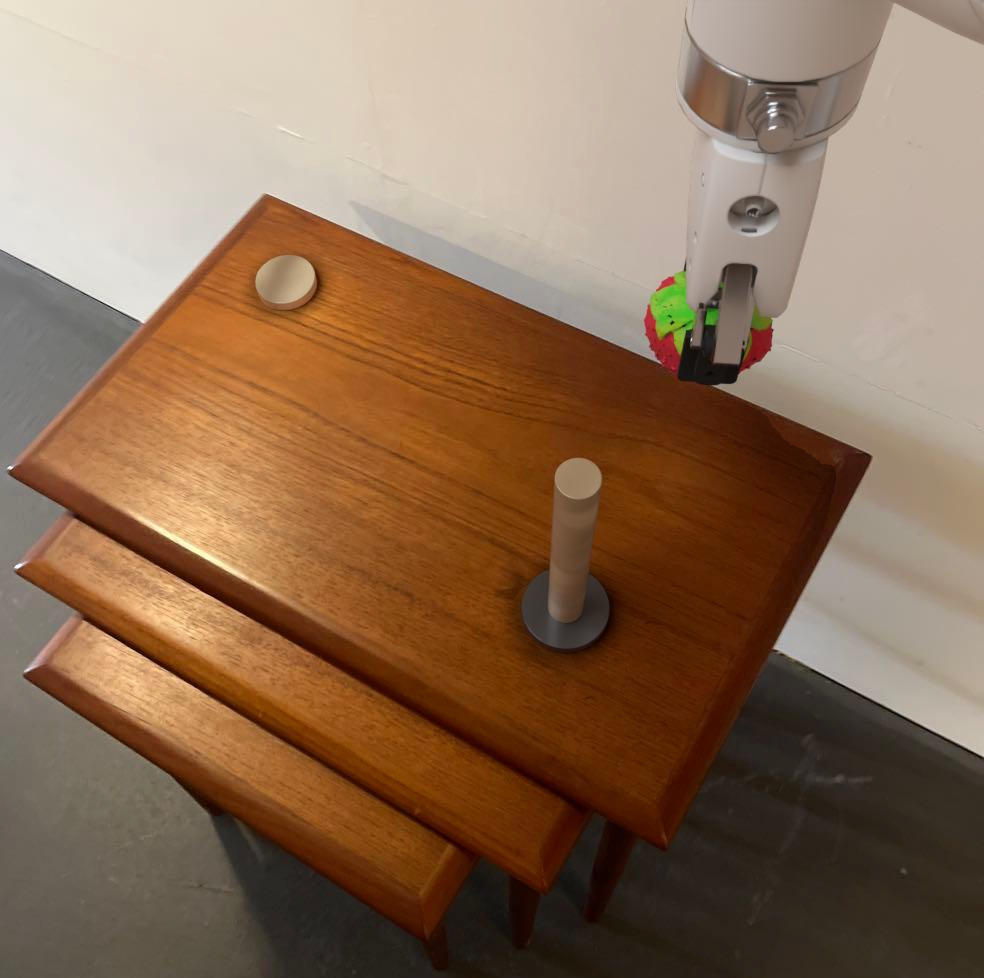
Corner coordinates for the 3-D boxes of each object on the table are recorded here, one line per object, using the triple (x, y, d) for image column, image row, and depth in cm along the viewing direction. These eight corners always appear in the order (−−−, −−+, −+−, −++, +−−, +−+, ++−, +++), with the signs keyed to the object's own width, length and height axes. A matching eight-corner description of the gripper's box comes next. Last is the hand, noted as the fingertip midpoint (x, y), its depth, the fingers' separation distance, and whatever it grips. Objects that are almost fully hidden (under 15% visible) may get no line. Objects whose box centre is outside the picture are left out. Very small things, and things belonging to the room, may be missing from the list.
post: (611, 576, 68) (642, 431, 50) (605, 658, 66) (634, 537, 48) (526, 567, 69) (525, 422, 51) (516, 648, 67) (512, 525, 48)
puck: (322, 264, 82) (320, 256, 81) (310, 312, 80) (308, 305, 79) (265, 260, 82) (262, 252, 81) (252, 308, 80) (249, 301, 79)
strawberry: (725, 439, 58) (757, 340, 49) (619, 381, 60) (631, 276, 51) (775, 370, 60) (814, 262, 51) (669, 316, 62) (689, 204, 53)
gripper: (878, 225, 35) (774, 465, 52) (864, -83, 42) (777, 214, 59) (668, 217, 36) (631, 454, 53) (688, -83, 43) (650, 209, 60)
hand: (708, 326), depth 55 cm, fingers closed on strawberry, 6 cm apart
